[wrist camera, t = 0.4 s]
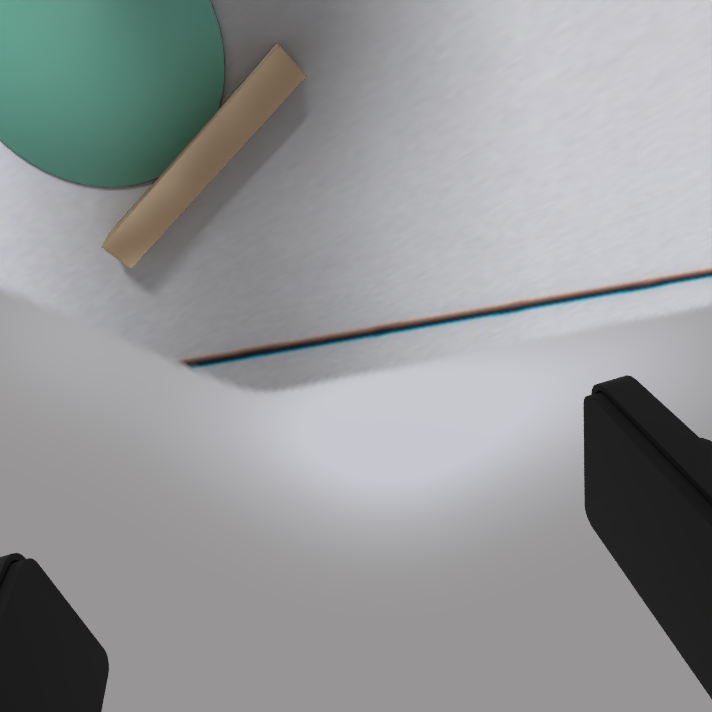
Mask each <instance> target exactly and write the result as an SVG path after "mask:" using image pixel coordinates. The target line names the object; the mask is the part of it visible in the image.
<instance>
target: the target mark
mask: <svg viewBox="0 0 712 712" xmlns="http://www.w3.org/2000/svg"><path fill="white" fill-rule="evenodd" d="M223 84H224V51H223V43H222V37H221V33H220V29H219V25H218V21H217V18H216V15H215V12H214V10H213V7H212V4H211V2H210V0H0V140H1V141H2V142H3V143H4V144H5V145H6V146H8V147H9V148H10V149H11V150H12V151H13V152H15V153H16V154H18V155H19V156H21V157H22V158H24V159H25V160H26V161H28V162H29V163H31V164H33V165H35V166H37V167H39V168H40V169H42V170H44V171H46V172H48V173H51V174H53V175H55V176H58V177H60V178H63V179H66V180H70V181H73V182H77V183H80V184H86V185H92V186H102V187H119V186H130V185H135V184H140V183H144V182H147V181H150V180H153V179H155V178H158V177H160V176H161V174H162V173H163V172H164V171H165V170H166V169H167V168H168V166H169V165H170V164H171V163H172V162H173V161H174V160H175V158H176V157H177V156H178V155H179V154H180V153H181V152H182V151H183V149H184V148H185V147H186V146H187V145H188V144H189V143H190V141H191V140H192V139H193V138H194V137H195V136H196V135H197V134H198V132H199V131H200V130H201V129H202V128H203V127H204V126H205V124H206V123H207V122H208V121H209V120H210V119H211V118H212V116H213V115H214V114H215V113H216V112H217V111H218V109H219V105H220V101H221V97H222V93H223Z"/></svg>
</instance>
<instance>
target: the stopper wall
mask: <svg viewBox="0 0 712 712" xmlns="http://www.w3.org/2000/svg"><path fill="white" fill-rule="evenodd" d="M306 76H307V75H306V74H305V73H304V72H303V71H302V70H301V69H300V68H299V66H298V65H297V64H296V63H295V62H294V61H293V60H292V59H291V58H290V56H289V55H288V54H287V53H286V52H285V51H284V50H283V49H282V48H281V46H280V45H278V44H277V43H276V45H275V46H274V47H273V48H272V49H271V50H270V51H269V52H268V54H267V55H266V56H265V57H264V58H263V59H262V60H261V62H260V63H259V64H258V65H257V66H256V67H255V68H254V70H253V71H252V72H251V73H250V74H249V75H248V76H247V77H246V79H245V80H244V81H243V82H242V83H241V84H240V85H239V87H238V88H237V89H236V90H235V91H234V92H233V93H232V94H231V96H230V97H229V98H228V99H227V100H226V101H225V102H224V104H223V105H222V106H221V107H220V108H219V109H218V111H217V112H216V113H215V114H214V115H213V116H212V118H211V119H210V120H209V121H208V122H207V123H206V124H205V126H204V127H203V128H202V129H201V130H200V131H199V132H198V134H197V135H196V136H195V137H194V138H193V139H192V140H191V141H190V143H189V144H188V145H187V146H186V147H185V148H184V149H183V151H182V152H181V153H180V154H179V155H178V156H177V157H176V158H175V160H174V161H173V162H172V163H171V164H170V165H169V166H168V168H167V169H166V170H165V171H164V172H163V173H162V174H161V176H160V177H158V179H157V180H156V181H155V182H154V183H153V184H152V185H151V186H150V188H149V189H148V190H147V191H146V192H145V193H144V194H143V196H142V197H141V198H140V199H139V200H138V201H137V202H136V204H135V205H134V206H133V207H132V208H131V209H130V210H129V211H128V213H127V214H126V215H125V216H124V217H123V218H122V219H121V221H120V222H119V223H118V224H117V225H116V226H115V227H114V229H113V230H112V231H111V232H110V233H109V235H108V237H107V238H106V240H105V242H104V244H103V245H102V248H104V249H105V250H106V251H108V252H109V253H110V254H112V255H113V256H114V257H116V258H117V259H118V260H120V261H121V262H122V263H124V264H125V265H126V266H128V267H129V268H130V269H132V267H133V266H134V265H135V264H136V263H137V262H138V261H139V260H140V259H141V258H142V256H143V255H144V254H145V253H146V252H147V251H148V250H149V249H150V248H151V247H152V245H153V244H154V243H155V242H156V241H157V240H158V239H159V238H160V237H161V236H162V235H163V233H164V232H165V231H166V230H167V229H168V228H169V227H170V226H171V225H172V224H173V222H174V221H175V220H176V219H177V218H178V217H179V216H180V215H181V214H182V213H183V211H184V210H185V209H186V208H187V207H188V206H189V205H190V204H191V203H192V202H193V200H194V199H195V198H196V197H197V196H198V195H199V194H200V193H201V192H202V191H203V189H204V188H205V187H206V186H207V185H208V184H209V183H210V182H211V181H212V180H213V179H214V177H215V176H216V175H217V174H218V173H219V172H220V171H221V170H222V169H223V168H224V166H225V165H226V164H227V163H228V162H229V161H230V160H231V159H232V158H233V157H234V155H235V154H236V153H237V152H238V151H239V150H240V149H241V148H242V147H243V146H244V144H245V143H246V142H247V141H248V140H249V139H250V138H251V137H252V136H253V135H254V133H255V132H256V131H257V130H258V129H259V128H260V127H261V126H262V125H263V124H264V123H265V121H266V120H267V119H268V118H269V117H270V116H271V115H272V114H273V113H274V112H275V110H276V109H277V108H278V107H279V106H280V105H281V104H282V103H283V102H284V101H285V99H286V98H287V97H288V96H289V95H290V94H291V93H292V92H293V91H294V90H295V88H296V87H297V86H298V85H299V84H300V83H301V82H302V81H303V80H304V79H305V78H306Z"/></svg>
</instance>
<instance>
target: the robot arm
mask: <svg viewBox="0 0 712 712" xmlns="http://www.w3.org/2000/svg"><path fill="white" fill-rule="evenodd" d="M584 471H585V472H584V476H585V478H584V479H585V510H586V514H587V517H588V520H589V521H590V524H591V526H592V527H593V529H594V530H595V532H596V533H597V535H598V536H599V538H600V539H601V540H602V542H603V543H604V544H605V546H606V548H607V549H608V550H609V552H610V553H611V555H612V556H613V558H614V559H615V561H616V562H617V563H618V565H619V566H620V568H621V569H622V571H623V572H624V573H625V575H626V576H627V578H628V579H629V580H630V582H631V584H632V585H633V586H634V588H635V589H636V591H637V592H638V594H639V595H640V596H641V598H642V599H643V601H644V602H645V604H646V605H647V607H648V608H649V609H650V611H651V612H652V614H653V615H654V617H655V618H656V619H657V621H658V622H659V624H660V625H661V627H662V628H663V629H664V631H665V632H666V634H667V635H668V637H669V638H670V640H671V641H672V642H673V644H674V645H675V646H676V648H677V650H678V651H679V653H680V654H681V655H682V657H683V658H684V660H685V661H686V663H687V664H688V665H689V667H690V668H691V670H692V671H693V673H694V674H695V675H696V677H697V678H698V680H699V681H700V683H701V684H702V686H703V687H704V689H705V690H706V691H707V693H708V694H709V696H710V697H711V699H712V442H711V441H710V440H707V439H704V438H699V437H698V436H697V435H696V434H695V433H693V431H691V430H690V429H689V428H688V427H687V426H686V425H685V424H684V423H683V422H682V421H681V420H679V419H678V418H677V417H676V416H675V415H674V414H673V413H672V412H671V411H670V410H669V409H667V408H666V407H665V406H664V405H663V404H662V403H661V402H660V401H659V400H658V399H656V398H655V397H654V396H653V395H652V394H651V393H650V392H649V391H648V390H647V389H646V388H645V387H643V386H642V385H641V384H640V383H639V382H638V381H637V380H636V379H634V378H633V377H631V376H624V377H620V378H617V379H613V380H610V381H606V382H603V383H599V384H597V385H594V387H593V389H592V395H589V396H587V397H585V399H584ZM108 671H109V664H108V657H107V654H106V652H105V650H104V648H103V647H102V646H101V645H100V643H99V642H98V641H97V639H96V638H95V637H94V636H93V634H92V633H91V632H90V630H89V629H88V628H87V626H86V625H85V624H84V622H83V621H82V620H81V619H80V618H79V616H78V615H77V613H76V612H75V611H74V610H73V608H72V607H71V606H70V604H69V603H68V602H67V600H65V598H64V597H63V595H62V594H61V593H60V591H59V590H58V589H57V588H56V586H55V585H54V584H53V582H52V581H51V580H50V578H49V577H48V576H47V575H46V573H45V572H44V571H43V569H42V568H41V567H40V566H39V564H38V563H37V562H36V561H35V560H34V559H31V558H30V559H26V558H25V557H23V556H22V555H21V554H18V553H15V554H10V555H7V556H3V557H0V712H101V710H102V704H103V699H104V693H105V689H106V683H107V678H108Z"/></svg>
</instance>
